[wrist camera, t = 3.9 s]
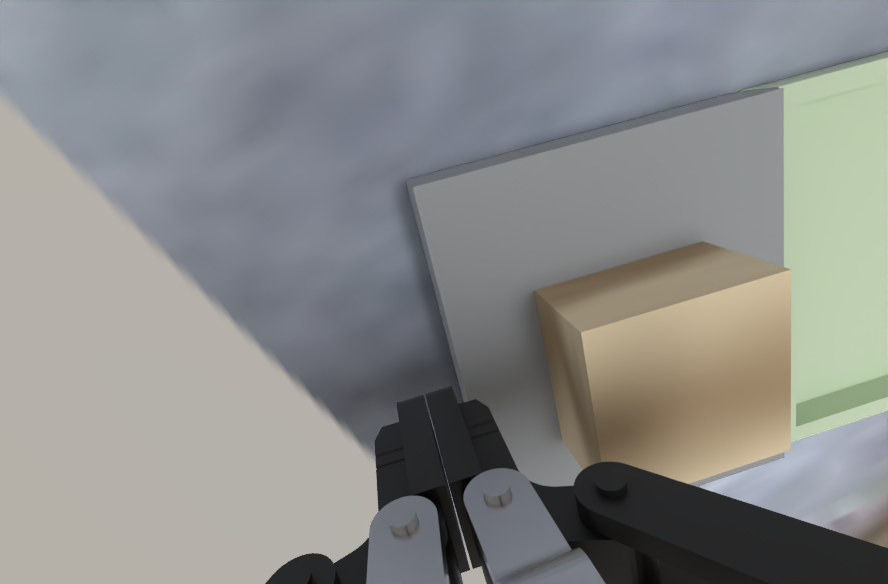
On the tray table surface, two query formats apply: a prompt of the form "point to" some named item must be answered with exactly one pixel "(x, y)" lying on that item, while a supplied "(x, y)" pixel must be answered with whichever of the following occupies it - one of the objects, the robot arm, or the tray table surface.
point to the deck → (587, 240)
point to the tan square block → (672, 361)
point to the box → (837, 241)
